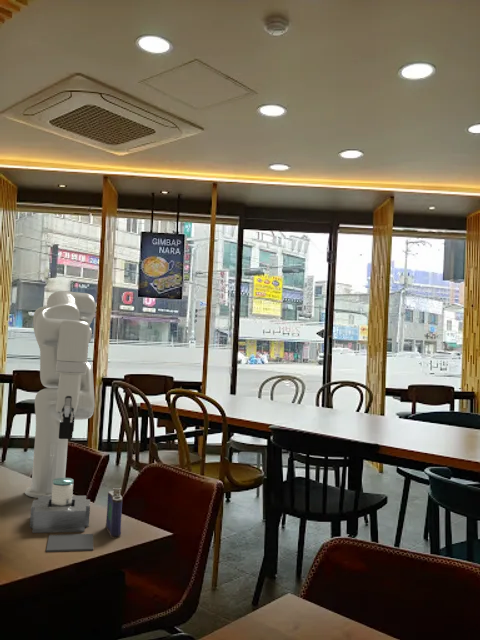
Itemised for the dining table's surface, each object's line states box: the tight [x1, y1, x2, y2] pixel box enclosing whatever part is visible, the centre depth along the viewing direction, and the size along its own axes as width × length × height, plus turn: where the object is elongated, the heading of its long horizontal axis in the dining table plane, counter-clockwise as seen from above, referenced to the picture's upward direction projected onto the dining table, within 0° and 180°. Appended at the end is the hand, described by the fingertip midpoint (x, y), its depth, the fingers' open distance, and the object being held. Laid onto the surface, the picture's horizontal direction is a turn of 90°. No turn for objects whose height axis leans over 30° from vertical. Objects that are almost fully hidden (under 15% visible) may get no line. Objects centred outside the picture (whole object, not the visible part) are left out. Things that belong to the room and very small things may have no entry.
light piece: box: [51, 477, 74, 507], centre depth 142 cm, size 5×5×11 cm
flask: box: [105, 487, 123, 539], centre depth 138 cm, size 9×3×11 cm, turn 22°
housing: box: [29, 495, 91, 534], centre depth 142 cm, size 14×14×5 cm
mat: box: [45, 533, 94, 553], centre depth 128 cm, size 10×10×1 cm
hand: (66, 435), depth 143 cm, fingers open, 9 cm apart
